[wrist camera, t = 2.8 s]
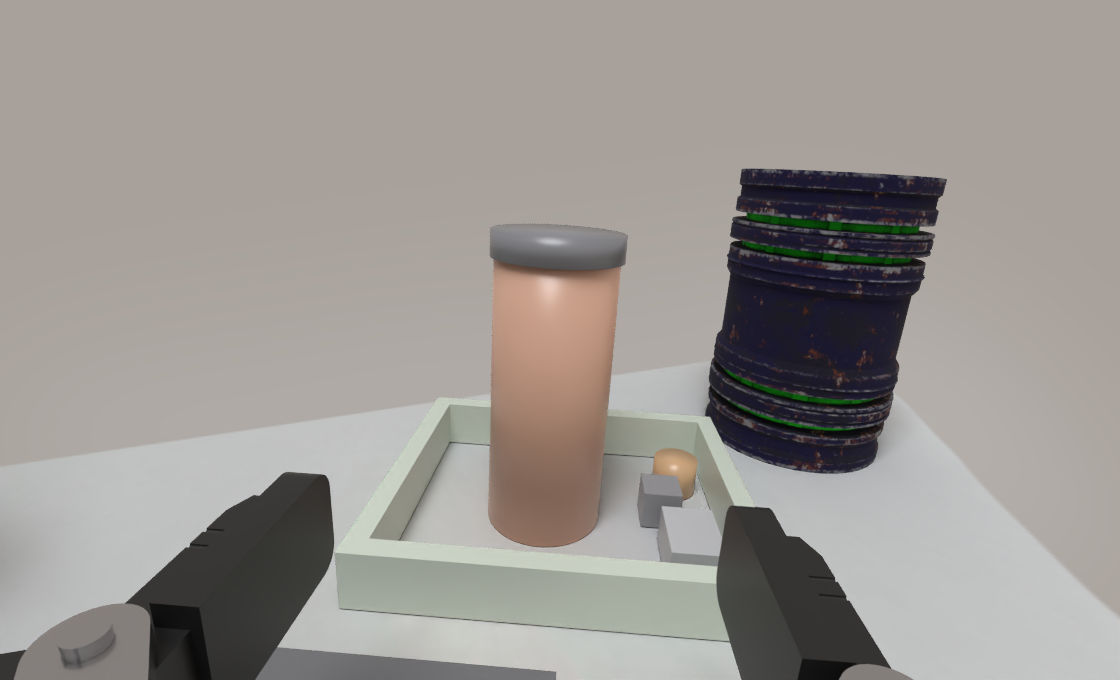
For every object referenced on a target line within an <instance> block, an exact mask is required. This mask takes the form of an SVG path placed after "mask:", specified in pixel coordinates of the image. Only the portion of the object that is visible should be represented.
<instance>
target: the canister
mask: <svg viewBox="0 0 1120 680" xmlns="http://www.w3.org/2000/svg"><path fill="white" fill-rule="evenodd" d="M627 239H628V236H627V235H626V234H624V233H621V232H617V231H612V230H606V229H599V228H590V227H580V226H568V225H551V224H506V225H496V226H493V227H491V228H490V257H491V258H493V259H494V271H493V272H494V273H493V320H492V365H491V369H492V370H491V411H490V458H489V505H488V514H489V519H490V521H491V523H492V525H493V526H494V528H495V529H496V530H497V531H498V532H500V533H501V534H502V535H504V536H505V537H507V538H509V539H511V540H513V541H516V542H518V543H522V544H525V545H530V546H537V547H555V546H562V545H566V544H570V543H573V542H576V541H578V540H580V539H582V538H584V537H585V536H587V535H588V534H589V533H590V532H591V531H592V530H593V529H594V527H595V526H596V524H597V521H598V512H599V501H600V490H601V479H602V469H603V458H604V447H605V436H606V425H607V414H608V403H609V392H610V381H611V370H612V359H613V347H614V336H615V325H616V315H617V303H618V293H619V281H620V270H621V266H623V265H624V264H625V260H626V250H627Z"/></svg>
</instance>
